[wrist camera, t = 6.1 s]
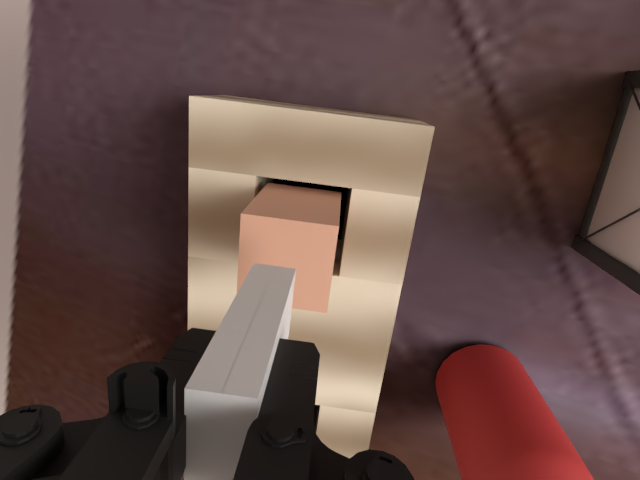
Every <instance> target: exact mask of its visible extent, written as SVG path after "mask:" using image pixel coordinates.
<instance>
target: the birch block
mask: <svg viewBox="0 0 640 480" xmlns="http://www.w3.org/2000/svg"><path fill="white" fill-rule="evenodd" d="M434 129H435V127H434V126H432V125H429V124H427V123H424V122H422V121H419V120H417V119H412V118H404V117H396V116H388V115H380V114H372V113H364V112H356V111H348V110H340V109H332V108H324V107H316V106H308V105H300V104H292V103H284V102H276V101H268V100H260V99H252V98H244V97H236V96H228V95H201V96H189V184H188V330H189V329H191V328H199V329H206V330H214V331H217V329H218V327H219V325H220V323H221V322H222V320H223V318H224V316H225V314H226V313H227V311H228V309H229V307H230V305H231V304H232V302H233V300H234V298H235V296H236V295H237V276H238V257H239V238H240V218H241V213H242V211H243V210H244V209H245V208H246V207H247V206H248V205H249V204H250V202H251V201H252V200H253V199H254V198H255V197H256V196H257V195H258V193H259V192H260V191H261V190H262V189H263V188H264V187H265V186H266V184H267V183H273V180H274V178H276V179H283V180H291V181H299V182H307V183H314V184H322V185H330V186H338V187H345V188H348V195H347V202H346V209H345V216H344V223H343V230H342V237H341V240H339V239H337V245H336V252H335V259H334V267H333V274H332V281H331V288H330V295H329V302H328V309H327V313H322V312H315V311H307V310H300V309H293V308H292V311H291V320H290V330H289V337H288V339H289V340H297V341H304V342H311V343H314V344H315V346H316V348H317V350H318V352H319V353H320V360H319V370H318V380H317V390H316V400H315V410H314V419H313V422H314V429H315V432H316V434H317V436H318V437H319V439H320V440H321V442H322V443H324V444H325V445H326V446H327V447H328V448H330V449H331V450H333V451H335V452H337V453H339V454H341V455H343V456H345V457H348V458H351V457H353V456H354V455H355V454H356V453H358V452H361V451H365V450H368V448H369V443H370V438H371V433H372V429H373V424H374V419H375V414H376V409H377V404H378V400H379V395H380V390H381V385H382V380H383V375H384V371H385V366H386V361H387V356H388V351H389V346H390V342H391V337H392V332H393V327H394V322H395V318H396V313H397V308H398V303H399V298H400V293H401V289H402V284H403V279H404V274H405V269H406V264H407V260H408V255H409V250H410V245H411V240H412V235H413V231H414V226H415V221H416V216H417V211H418V206H419V202H420V197H421V192H422V187H423V182H424V177H425V173H426V168H427V163H428V158H429V153H430V148H431V144H432V139H433V134H434Z"/></svg>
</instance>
